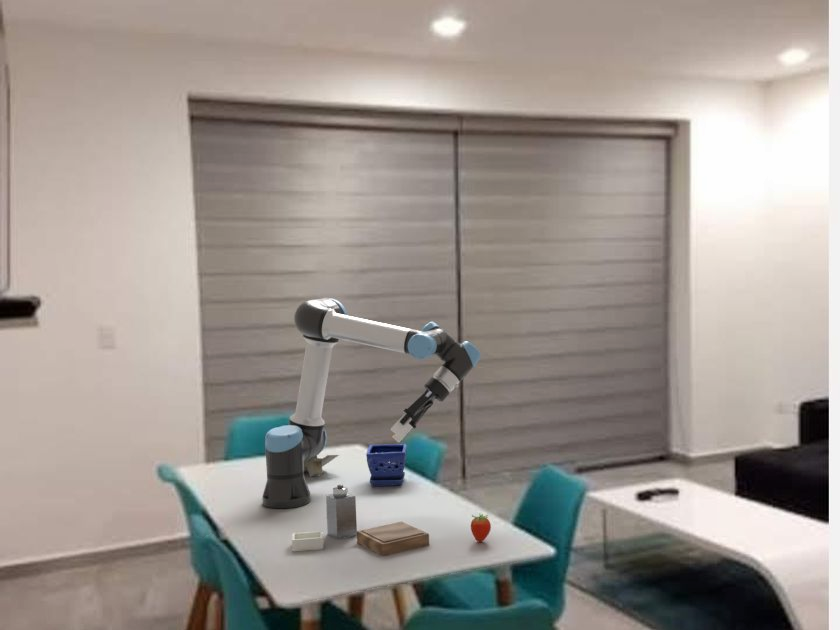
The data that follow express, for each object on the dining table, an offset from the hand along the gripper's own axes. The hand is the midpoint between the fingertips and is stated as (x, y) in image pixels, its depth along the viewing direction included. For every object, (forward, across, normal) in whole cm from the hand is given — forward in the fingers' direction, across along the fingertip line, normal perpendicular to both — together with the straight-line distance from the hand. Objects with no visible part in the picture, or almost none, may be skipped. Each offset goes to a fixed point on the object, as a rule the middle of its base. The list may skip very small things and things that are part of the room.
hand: (394, 436), depth 265 cm
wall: (+25, +53, +20) cm, 62 cm away
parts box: (+39, -22, -6) cm, 45 cm away
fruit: (+8, -23, -39) cm, 46 cm away
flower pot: (+10, +39, -4) cm, 41 cm away
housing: (+31, -13, -10) cm, 35 cm away
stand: (+24, -22, -22) cm, 39 cm away
